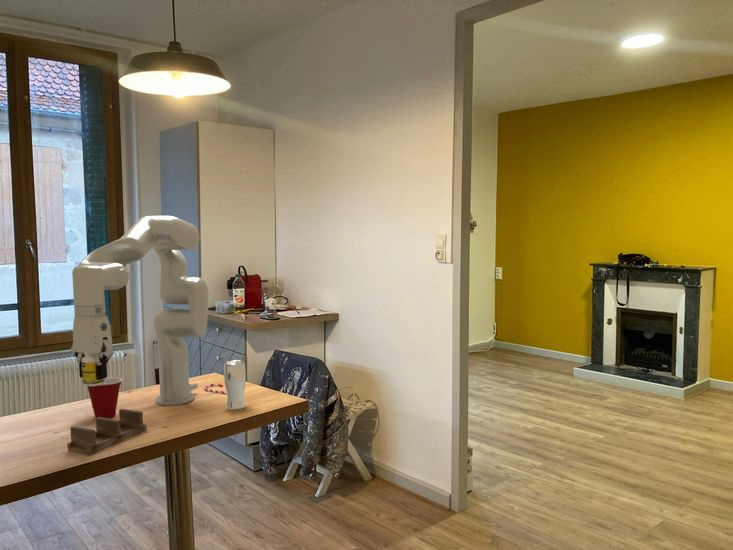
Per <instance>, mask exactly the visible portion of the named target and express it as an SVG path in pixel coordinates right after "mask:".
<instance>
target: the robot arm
mask: <svg viewBox="0 0 733 550" xmlns="http://www.w3.org/2000/svg"><path fill="white" fill-rule="evenodd" d="M200 237H201V236H200V233H199V230H198V229H197V227H196V226H195V225H194V224H192V223H190V222H187V221H185V220H183V219H181V218H179V217H175V216H172V215H147V216H142V217H140V218H139V219H138V220H137V221H136V222H135V223H134V224H133V225H132V226H131V227H129V229H128V230H127V231H126V232H125V233H124V234H123V235H122V236H121V237H120V238H119V239H116V240H113V241H111V242H109V243H107V244H105V245H102V246H100V247H98V248H96V249H94V250H92V251H91V252H89V253H88V254H87V255H86V256H85V257H84V258H83V259H82V260H81V261H80V262H79V263H78V264H77V266H75V267H73V269H72V272H71V273H72V274H71V276H72V278H71V279H72V292H73V310H74V316H73V317H74V318H73V323H72V324H73V325H72V344H71V345H72V346H70V350H71V352H72V353H73V354H74V357H75V358H76V362H77V363H78V372H79V373H78V374H79V378H81V379H82V358H83V357H85V355H84V353H85V352H87V353H89V354H94V355H95V358H96V362H97V365H96V367H95V368H96V380H101V379H104V378H108V364H109V361H110V359H111V358H112V356H113V355H114V353H115V351H114V349H113V338H112V331H111V325H110V320H109V318H108V316H107V315H106V311H107V309H106V299H105V290H107V291H110V290H111V291H113V290H120V289H122V288H123V287H126V286H127V284H128V281H129V279H130V273H129V270H128V269H127V267H126V266H127V265H129V264H133V263H136V262H138V261H139V262H140V261H141V260H142V259H143V258H144V257H145V256H146V255H147V253H148V252H149V251H150V250H151V249H153V250H154V251H155V253H156V254H157V256H158V259H159V261H160V283H159V284H160V285H159V286H160V287H159V288H160V289H159V291H160V292H159V293H160V294H159V295H160V296H159V297H160V299H161V302H162V303H164V304H166V305H172V306H173V305H175V306H179V305H180V306H189V308H163V309H161V310H159V311H158V312H156V314H155V315H154V319H153V326H154V332H155V335H156V342H157V351H158V375H159V394H160V395H158V396H157V397H155V399H154V400H155V403H156V404H157V405H161V406H178V405H182V404H183V405H184V404H188V403H190V402H192V401H193V400H194V399H195V394H194V393H192V391H193V390H195V389H197V388H198V386H199V384H198V383H197V382H195V383H192V384H190V381H189V380H190V379H189V377H190V376H189V375H190V374H189V373H190V372H189V352H188V351H189V350H188V345H187V344H186V341H184V339H183V338H201V337H202V336H204V335H205V333H206V331H207V328H208V327H207V326H208V317H209V315H208V314H209V289H208V285H207V283H206V281H205V280H204V279H203V278H202V277H198V276H188V262H187V259H186V257H185V256H184V254H183V253H182V251H191V250H194V249H195V248H197V247H198V245H199V243H200ZM125 265H126V266H125ZM100 355H101V356H102V358H100Z"/></svg>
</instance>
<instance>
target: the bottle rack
mask: <svg viewBox="0 0 733 550" xmlns="http://www.w3.org/2000/svg"><path fill="white" fill-rule="evenodd" d="M143 413H144V412H143V411H140V410H135V409H134V410H132V409H127V408H120V409H118V414H119V415H118V416H119V418H118V419H113V418H110V419H108V418H103V417H98V418H95V428H96V429H90V428H86V427H81V426H75V425H73V426H70V429H69V430H70V442H67V443H66V444H67V446H66V447H67V453H73V454H77V453H78V455H82V456H87V455H88V456H87V457H90V456H93V455H94V454H97V453H100V452H102V451H104V450H107V449H108V448H111V447H113V446H117V445H118V444H121V443H123V442H126V441H128V440H129V438H130V439H132V438H135V437H136V435H137V436H139V435H142V434H144V433H146V432H147V423H144V418H143V417H144V416H143V415H144V414H143ZM143 432H144V433H143ZM141 433H142V434H141ZM138 434H139V435H138ZM134 436H135V437H134ZM131 437H132V438H131ZM127 439H128V440H127ZM122 441H123V442H122ZM106 448H107V449H106Z"/></svg>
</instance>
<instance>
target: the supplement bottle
mask: <svg viewBox="0 0 733 550" xmlns="http://www.w3.org/2000/svg"><path fill="white" fill-rule="evenodd" d="M84 355H85V357H83V358H82V378H81V379H82V385H83V386H85V387H87V386H98V385H101V384H103V383H104V382H105V380H104V379H101V380H96V368H95V367H96V365H97V362H96V358H95V355H94V354H89V353H87V352H85V353H84ZM100 358H102V355H100Z"/></svg>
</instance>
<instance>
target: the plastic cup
mask: <svg viewBox="0 0 733 550" xmlns="http://www.w3.org/2000/svg"><path fill="white" fill-rule="evenodd" d="M104 380H105V382H104V383H103V384H101V385H98V386H86V387H87V391H88V393H89V398H90V402H91V407H92V409H93V414H94V418H95V419H96V418H98V417H103V418H108V419H113V418H115V416H116V414H117V413H116V412H117V407H118V400H119V392H120V388H121V384H122V383H123V378H120V377H107V378H104Z"/></svg>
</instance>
